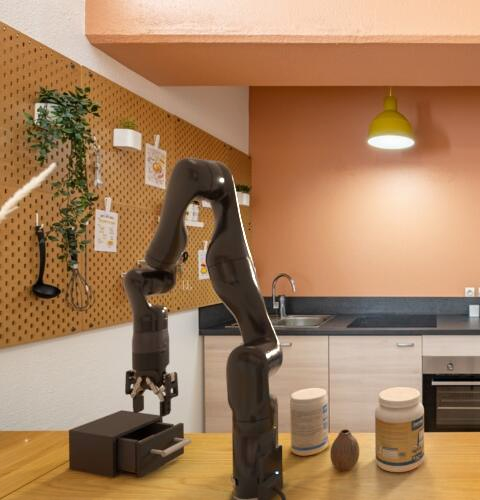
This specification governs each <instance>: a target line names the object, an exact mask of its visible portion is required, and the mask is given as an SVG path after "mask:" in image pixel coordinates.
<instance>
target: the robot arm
mask: <svg viewBox="0 0 480 500" xmlns="http://www.w3.org/2000/svg"><path fill="white" fill-rule="evenodd" d="M236 190H237V189H236V185H235V181H234V177H233V174H232V172H231V170H230V168H229V167H228V166H227V165H226V164H225V163H224V162H222V161H220V160H219V161H218V160H214V159H206V158H205V159H204V158H198V157H182V158H180V159H179V160H177V161H176V162H175V163H174V165H173V168H172V169H171V172H170V174H169V178H168V182H167V184H166V190H165V194H164V197H163V203H162V206H161V211H160V216H159V219H158V220H159V221H158V224H157V226H156V229H155V231H154V233H153V236H152V238H151V240H150V242H149V245H148V247H147V248H146V251H145V253H144V255H143V256H144V257H143V260H144V262H145V264H146V265H147V266H148V267H134V268H130V269H129V270H127V272H126V273H125V274H124V276H123V280H122V287H123V289H124V293H125V295H126V298H127V300H128V303H129V307H130V310H131V314H132V338H131V368H132V369H129V370H126V371H125V383H124V384H125V385H124V387H125V388H124V394H125V395H127V396H128V395H129V396H130V398H131V399H132V412H134V413H138V412H139V413H142V412H143V411H144V410H145V395H144V394H145V392H146V391H147V390H148V391H151V392H153V394H154V395H156V396H157V397H158V399H159V415H160V416H162V417H163V418H164V417H167V416H169V415H170V414H171V412H172V399H175V398H176V397H178V396H179V379H178V372H176V371H173V372H169V373H168V372H167V367H168V365H169V364H170V334H169V318H168V317H169V312H168V308H167V307H166V305H163V304H151V303H150V302H149V300H148V298H147V297H153V296H162V295H163V296H164V295H167V294H169V293H171V292H172V291H173V290H174V289H175V287H176V285H177V274H178V268H179V262H180V261H181V259H182V256H183V255H184V253H185V251H186V249H187V247H188V244H189V238H190V237H189V236H190V235H189V230H188V226H187V223H186V217H185V215H186V212H187V210H188V208H189V206H190V205H191V204H192V203H193V202H194V201H195V202H196V201H203V202H209V205H210V209H211V213H212V216H213V223H214V224H213V230H212V232H211V233H212V234H211V237H210V239H209V242H208V246H207V248H206V253H205V259H204V260H205V261H204V262H205V266H206V270H207V273H208V276H209V281H210V285H211V287H212V289H213V292H214V293H215V294H216V296H217V298H218V299H219V301H221V303H222V304H223V305H224V306H225V308H226V309H227V310H228V311H229V313H231V315H232V316H233V318H234V319H235V321H236V323H237V325H238V328H239V331H240V335H241V339H242V343H241V344H240V345H238V346H236V347H234V348H233V349H232V350H231V351H230V353H229V355H228V357H227V360H226V365H225V380H226V395H227V404H228V406H229V408H230V410H231V433H232V434H231V439H232V440H231V443H232V444H231V446H232V447H231V448H232V450H231V451H232V452H231V453H232V474H230V482H231V484H232V500H271V499H273V497H275V496H276V495H278V496H279V497H280V498H281V500H287V498H286V495H285V493H284V491H283V490H282V489H284V474H283V473H284V471H283V470H284V469H283V468H284V467H283V463H284V462H283V461H284V460H283V459H284V457H283V444H281V443H279V400H278V397H277V396H276V395H274V394H272V393H271V392H270V380H269V379H270V378H271V377H272V376H274V375H275V374H276V373H277V372H279V370H280V369H281V367H282V365H283V361H284V352H283V348H282V345H281V343H280V340H279V338H278V335H277V332H276V331H275V328H274V326H273V323H272V321H271V318H270V316H269V312H268V310H267V306H266V303H265V299H264V295H263V293H262V290H261V287H260V283H259V279H258V275H257V271H256V267H255V263H254V261H253V257H252V254H251V251H250V247H249V245H248V241H247V237H246V233H245V229H244V227H243V222H242V218H241V213H240V206H239V202H238V195H237V191H236ZM162 386H163V387H162Z"/></svg>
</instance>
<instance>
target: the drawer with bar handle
mask: <svg viewBox="0 0 480 500" xmlns="http://www.w3.org/2000/svg"><path fill="white" fill-rule="evenodd" d="M152 435H153V436H152ZM149 436H151V437H149ZM147 437H149V438H147ZM145 438H146V439H145ZM143 439H144V440H143ZM141 440H142V441H141ZM139 441H140V442H139ZM191 443H192V438H191V437H187V438H185V423H183V422H179V423H176V424H174V423H169V422H163V423H162V422H154V423H151V424H149V425H147V426H144V427H142V428H140V429H138V430H135V431H133V432H131V433H128V434H126V435H124V436H121V437H119V438H117V439H116V469H118V470H123V471H125V472H130V473H133V474H134V473H135V474H136V477H137V478H142V477H144V476H146V475H147V474H149V473H151V472H153V471H156V470H157V469H159V468H160V467H162V466H163V465H165V464H167V463H169V462H171V461H173V460H175V459H176V458H178V457H180V456H182V455H184V454H185V447H186V446H188V445H190V444H191Z"/></svg>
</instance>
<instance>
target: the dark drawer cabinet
mask: <svg viewBox="0 0 480 500" xmlns="http://www.w3.org/2000/svg"><path fill="white" fill-rule="evenodd" d="M163 420H164V417H162V416H160V414H154V413H153V414H152V413H145V412H138V413H134V412H133V411H130V410H123V409H121V410H118V411H116V412H112V413H111V414H108V415H105V416H103V417H99V418H97V419H94V420H91V421H88V422H86V423H84V424H81V425H79V426H76V427H73V428H71V429H68V469H69V470H72V471H77V472H83V473H88V474H93V475H97V476H102V477H109V478H115V477H117V476H120V475H121V474H124V473H125V472H126V471H123V470H118V469H116V439H117V438H119V437H121V436H124V435H126V434H128V433H131V432H133V431H135V430H138V429H140V428H142V427H144V426H147V425H149V424H151V423H154V422H162V423H164V422H163Z"/></svg>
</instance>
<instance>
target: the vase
mask: <svg viewBox="0 0 480 500" xmlns="http://www.w3.org/2000/svg"><path fill="white" fill-rule="evenodd" d="M329 453H330V456H329V457H330V462H331V464H332V467H334V468H335V470H337V471H339V472H348V471H350V470H352V469H353V468H354V467H355V466H356V465H357V463H358V461H359V459H360V444H359V442H358V440H357V438H356V437H355V436H354V435H353V434H352V433H351V430H350V429H347V428H344V429H341V430H340V431H339V432H338V435H337V436H336V438H335V439H334V440H333V443H332V444H331V447H330V451H329Z"/></svg>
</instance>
